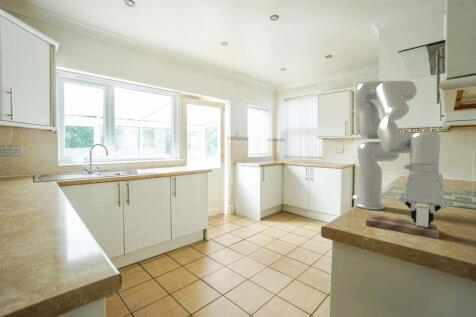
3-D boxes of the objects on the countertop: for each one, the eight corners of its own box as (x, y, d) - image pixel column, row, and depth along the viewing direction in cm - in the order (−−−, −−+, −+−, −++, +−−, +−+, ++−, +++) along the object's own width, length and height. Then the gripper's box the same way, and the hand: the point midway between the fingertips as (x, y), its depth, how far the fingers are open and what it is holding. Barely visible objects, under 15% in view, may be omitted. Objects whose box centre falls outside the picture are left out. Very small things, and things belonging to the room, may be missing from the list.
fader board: (365, 225, 81) (366, 219, 81) (369, 218, 88) (369, 213, 88) (438, 238, 69) (439, 232, 69) (435, 230, 76) (435, 224, 76)
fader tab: (416, 225, 74) (416, 207, 74) (415, 221, 78) (416, 204, 78) (428, 227, 72) (428, 209, 72) (426, 223, 76) (427, 205, 76)
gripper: (393, 168, 76) (391, 220, 77) (460, 171, 66) (457, 231, 67) (394, 166, 82) (392, 215, 83) (455, 169, 72) (453, 224, 73)
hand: (421, 222), depth 75 cm, fingers closed on fader tab, 3 cm apart
